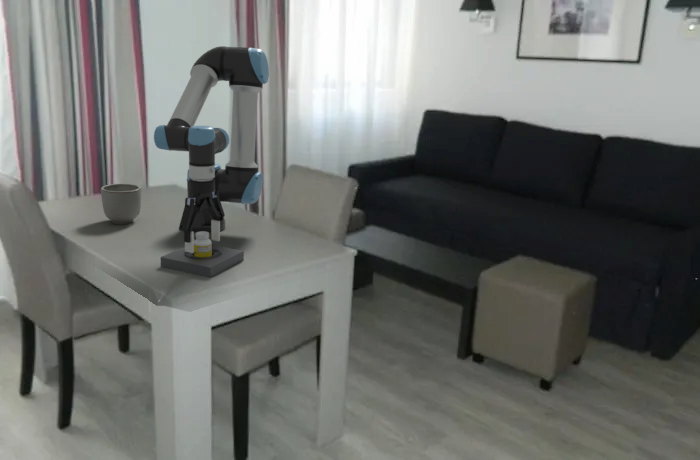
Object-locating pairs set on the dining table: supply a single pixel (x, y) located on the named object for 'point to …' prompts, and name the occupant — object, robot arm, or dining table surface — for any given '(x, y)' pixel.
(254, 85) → the robot arm
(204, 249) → the supplement bottle
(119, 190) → the planter
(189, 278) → the dining table surface
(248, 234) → the dining table surface
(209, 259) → the holder plate
